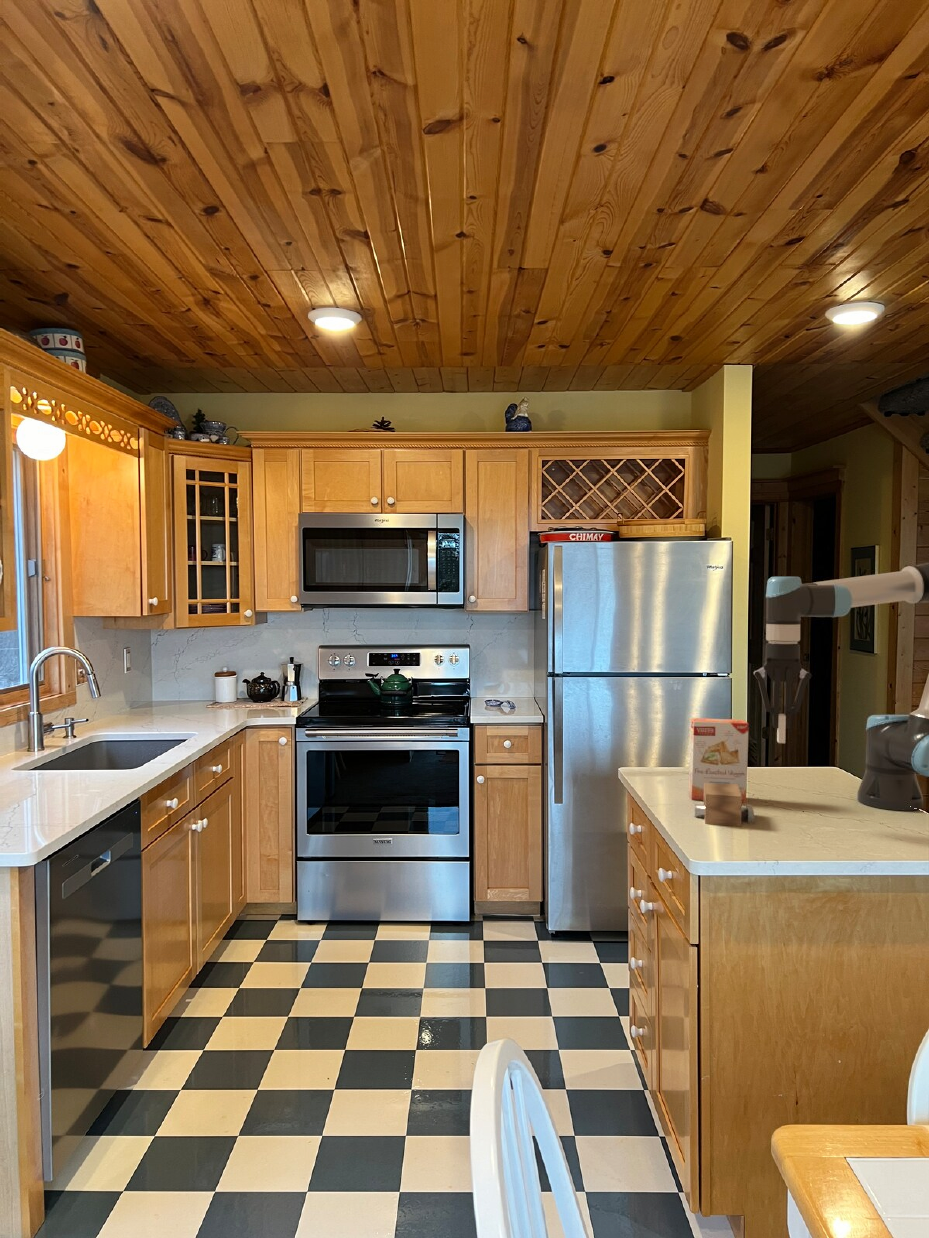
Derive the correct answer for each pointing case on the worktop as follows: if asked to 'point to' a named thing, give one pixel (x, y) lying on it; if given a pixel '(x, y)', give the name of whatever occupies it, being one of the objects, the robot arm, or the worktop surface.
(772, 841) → the worktop surface
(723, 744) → the cracker box
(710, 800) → the block
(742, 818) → the pin
